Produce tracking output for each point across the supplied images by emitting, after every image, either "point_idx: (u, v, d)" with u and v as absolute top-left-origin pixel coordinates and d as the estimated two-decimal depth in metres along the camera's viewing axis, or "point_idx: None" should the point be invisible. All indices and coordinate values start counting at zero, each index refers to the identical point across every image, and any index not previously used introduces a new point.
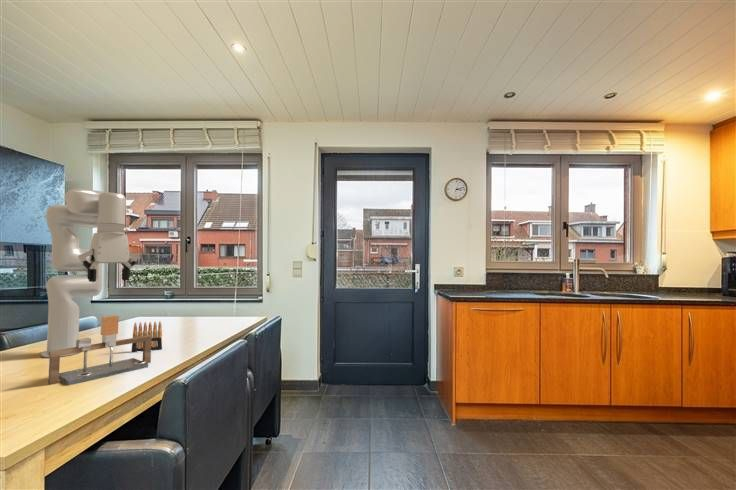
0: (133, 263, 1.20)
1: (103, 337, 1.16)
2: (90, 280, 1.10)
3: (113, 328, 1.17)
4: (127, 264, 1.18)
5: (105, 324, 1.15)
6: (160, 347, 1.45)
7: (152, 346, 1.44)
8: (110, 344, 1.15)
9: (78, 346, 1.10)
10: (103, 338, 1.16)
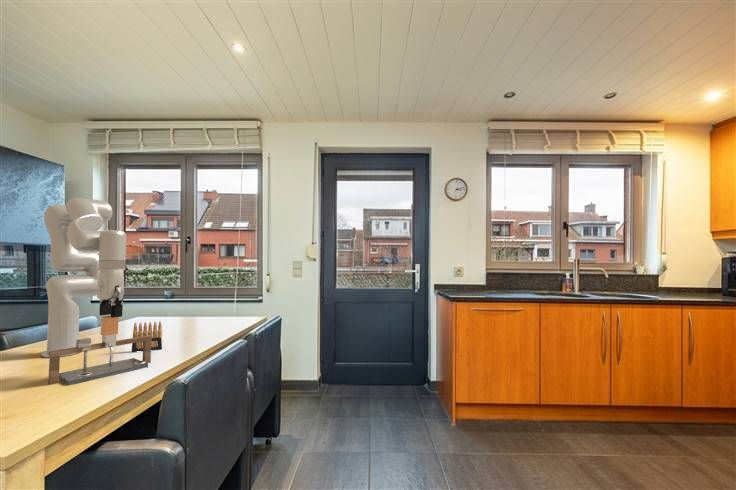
0: None
1: (103, 337, 1.16)
2: (115, 316, 1.14)
3: (113, 328, 1.17)
4: None
5: (105, 324, 1.15)
6: (160, 347, 1.45)
7: (152, 346, 1.44)
8: (110, 344, 1.15)
9: (78, 346, 1.10)
10: (103, 338, 1.16)
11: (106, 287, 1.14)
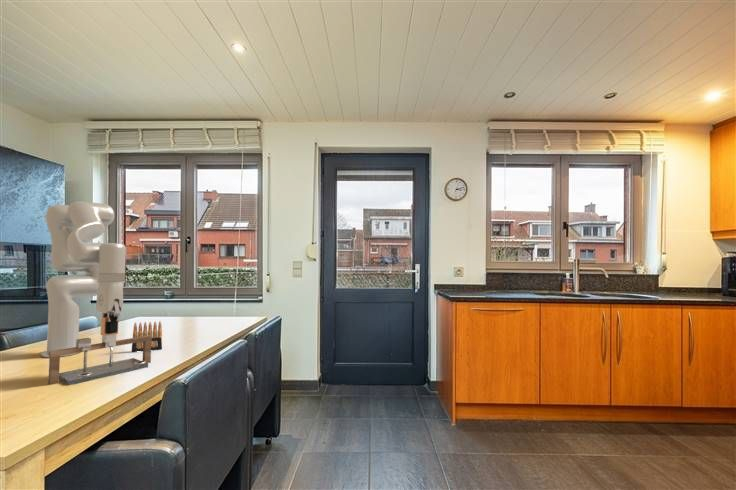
0: None
1: (103, 337, 1.16)
2: (110, 332, 1.16)
3: None
4: None
5: (105, 324, 1.15)
6: (160, 347, 1.45)
7: (152, 346, 1.44)
8: (110, 344, 1.15)
9: (78, 346, 1.10)
10: (103, 338, 1.16)
11: (105, 301, 1.14)
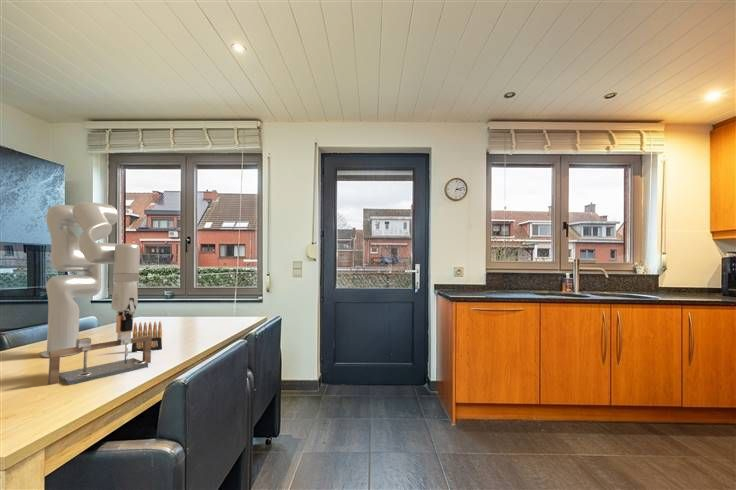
0: (123, 312, 1.24)
1: (118, 335, 1.20)
2: (125, 330, 1.19)
3: None
4: None
5: (120, 322, 1.19)
6: (160, 347, 1.45)
7: (152, 346, 1.44)
8: (125, 341, 1.19)
9: (78, 346, 1.10)
10: (118, 336, 1.20)
11: (121, 299, 1.17)
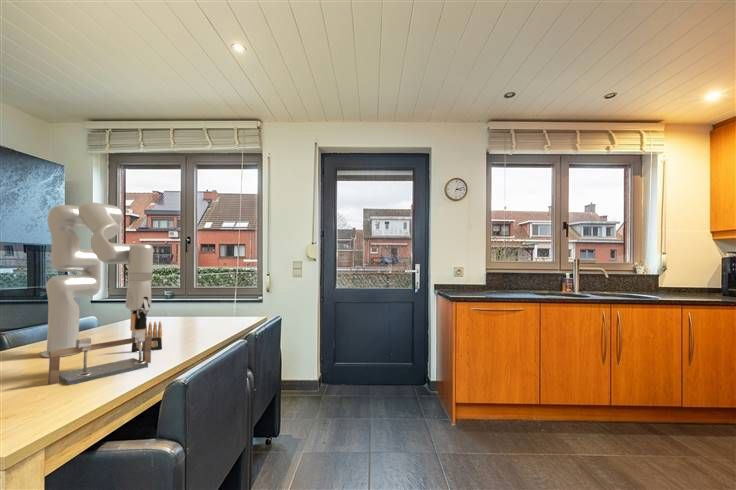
0: None
1: (133, 333, 1.24)
2: (139, 328, 1.23)
3: None
4: None
5: (134, 320, 1.22)
6: (160, 347, 1.45)
7: (152, 346, 1.44)
8: (139, 339, 1.22)
9: (78, 346, 1.10)
10: (133, 333, 1.24)
11: (135, 298, 1.21)
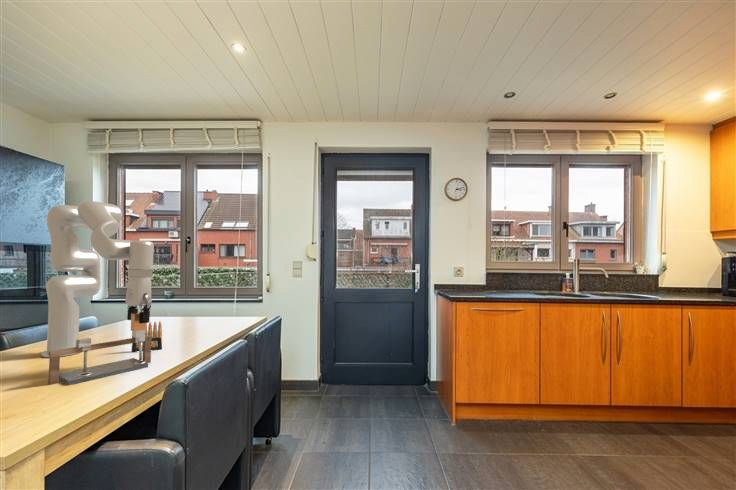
0: None
1: (133, 332, 1.24)
2: (143, 322, 1.22)
3: (142, 324, 1.24)
4: None
5: (135, 320, 1.23)
6: (160, 347, 1.45)
7: (152, 346, 1.44)
8: (140, 339, 1.22)
9: (78, 346, 1.10)
10: (133, 333, 1.24)
11: (135, 295, 1.21)
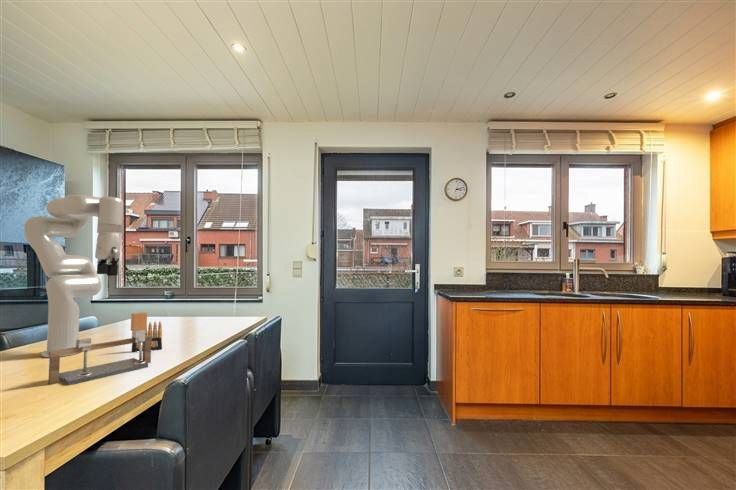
0: (103, 258, 1.34)
1: (133, 332, 1.24)
2: (111, 274, 1.26)
3: (142, 324, 1.24)
4: None
5: (135, 320, 1.23)
6: (160, 347, 1.45)
7: (152, 346, 1.44)
8: (140, 339, 1.22)
9: (78, 346, 1.10)
10: (133, 333, 1.24)
11: (104, 248, 1.26)
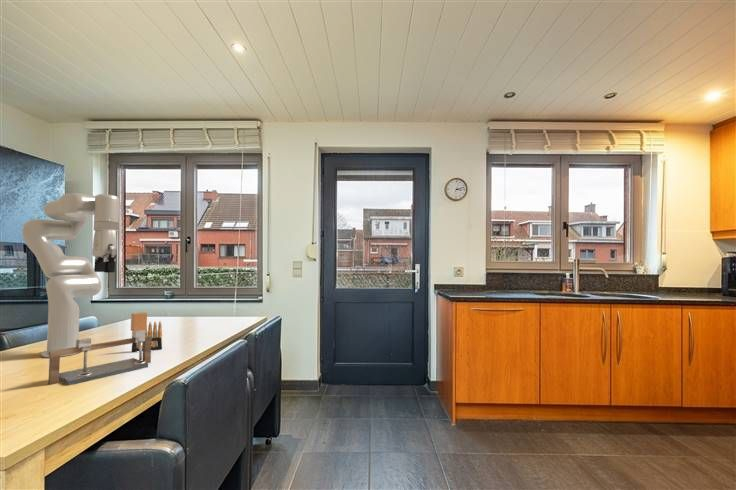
0: (100, 256, 1.35)
1: (133, 332, 1.24)
2: (108, 271, 1.27)
3: (142, 324, 1.24)
4: None
5: (135, 320, 1.23)
6: (160, 347, 1.45)
7: (152, 346, 1.44)
8: (140, 339, 1.22)
9: (78, 346, 1.10)
10: (133, 333, 1.24)
11: (100, 245, 1.26)
